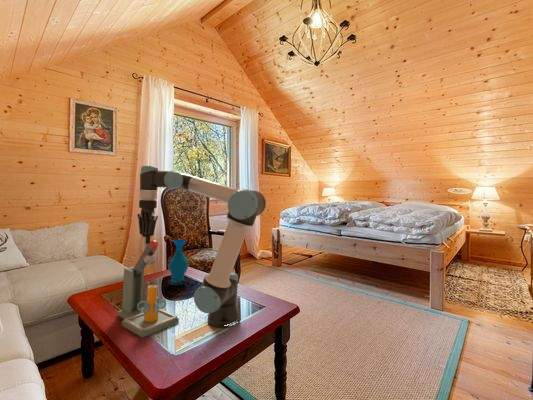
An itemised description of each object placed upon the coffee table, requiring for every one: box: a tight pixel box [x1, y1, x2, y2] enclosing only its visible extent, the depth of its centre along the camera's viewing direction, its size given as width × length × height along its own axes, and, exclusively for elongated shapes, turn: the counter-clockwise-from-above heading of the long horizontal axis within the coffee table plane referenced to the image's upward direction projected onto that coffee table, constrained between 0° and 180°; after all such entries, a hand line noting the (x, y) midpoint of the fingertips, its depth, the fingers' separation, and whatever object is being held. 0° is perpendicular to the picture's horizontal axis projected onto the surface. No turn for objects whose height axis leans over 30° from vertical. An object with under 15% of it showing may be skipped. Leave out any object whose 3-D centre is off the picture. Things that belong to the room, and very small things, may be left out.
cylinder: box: [137, 284, 167, 322], centre depth 126 cm, size 12×10×15 cm
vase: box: [168, 239, 189, 286], centre depth 183 cm, size 12×13×28 cm
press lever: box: [132, 240, 159, 278], centre depth 129 cm, size 24×5×6 cm
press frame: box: [117, 266, 180, 338], centre depth 129 cm, size 27×18×22 cm, turn 55°
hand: (145, 250), depth 129 cm, fingers closed
